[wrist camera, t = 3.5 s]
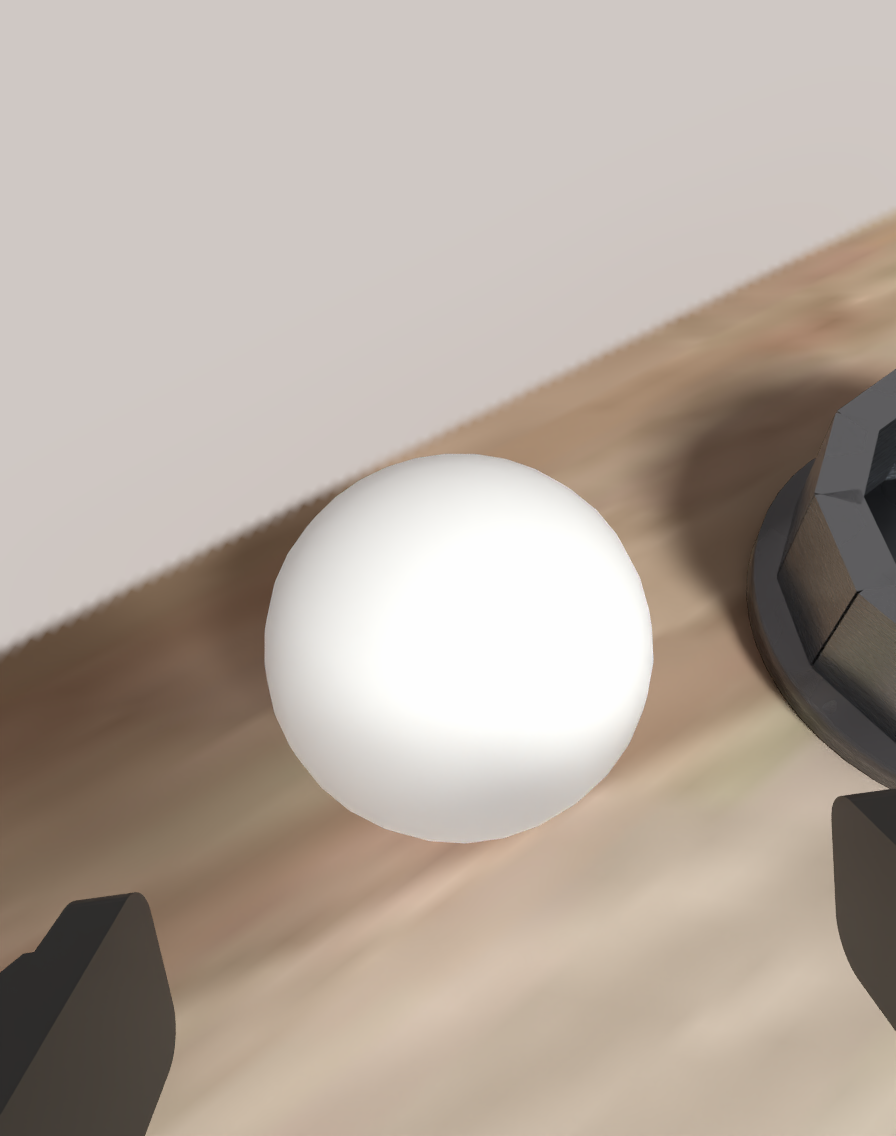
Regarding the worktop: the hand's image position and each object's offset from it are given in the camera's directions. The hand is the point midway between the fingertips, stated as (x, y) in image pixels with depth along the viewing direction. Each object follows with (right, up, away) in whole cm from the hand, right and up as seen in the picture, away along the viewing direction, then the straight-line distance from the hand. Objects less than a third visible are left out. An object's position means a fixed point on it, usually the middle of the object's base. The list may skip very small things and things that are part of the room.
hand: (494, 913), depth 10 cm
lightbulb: (0, -2, +11) cm, 11 cm away
